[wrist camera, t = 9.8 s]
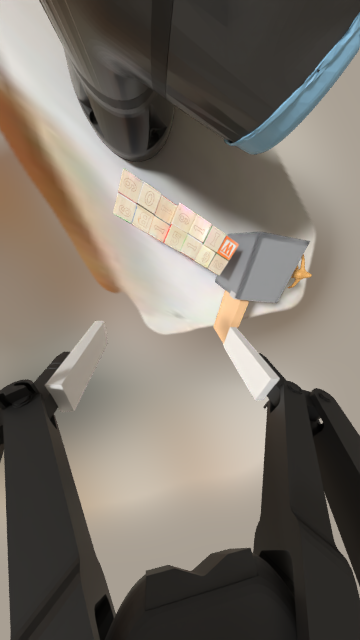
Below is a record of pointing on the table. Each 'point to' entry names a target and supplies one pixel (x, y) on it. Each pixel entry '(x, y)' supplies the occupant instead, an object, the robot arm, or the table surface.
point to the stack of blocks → (172, 224)
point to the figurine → (300, 273)
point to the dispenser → (261, 266)
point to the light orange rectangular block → (229, 315)
